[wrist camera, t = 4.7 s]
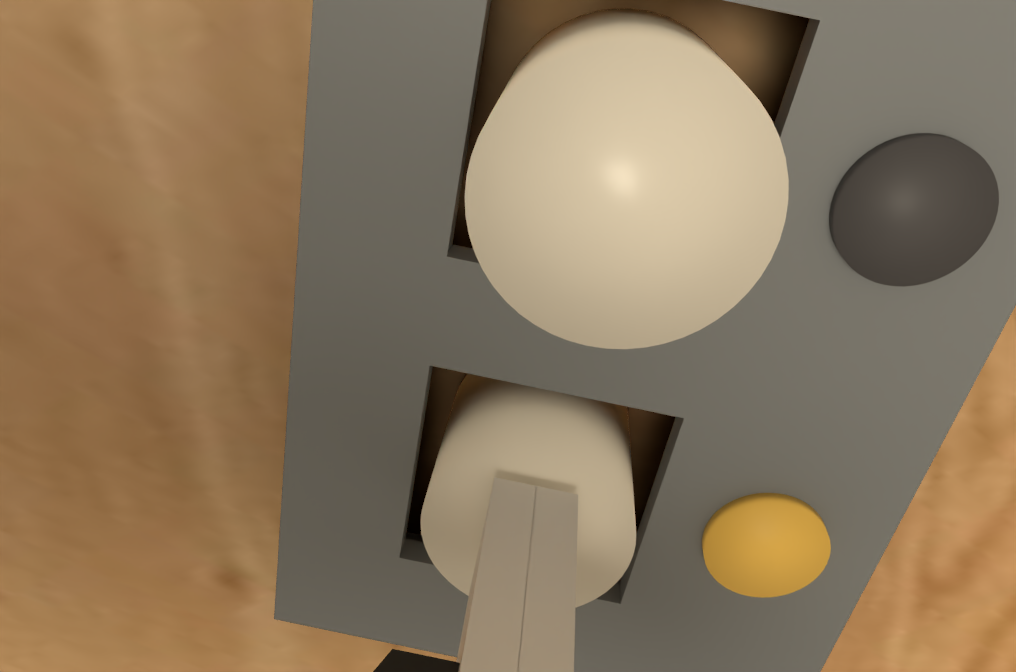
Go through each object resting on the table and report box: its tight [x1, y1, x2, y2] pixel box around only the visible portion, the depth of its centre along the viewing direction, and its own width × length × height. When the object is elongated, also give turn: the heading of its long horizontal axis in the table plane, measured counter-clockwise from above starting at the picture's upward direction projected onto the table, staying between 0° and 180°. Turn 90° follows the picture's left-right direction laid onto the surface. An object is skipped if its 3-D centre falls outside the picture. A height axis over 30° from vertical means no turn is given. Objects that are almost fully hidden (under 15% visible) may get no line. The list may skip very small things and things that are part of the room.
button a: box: [420, 374, 636, 608], centre depth 17 cm, size 4×4×4 cm
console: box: [274, 0, 1016, 672], centre depth 14 cm, size 12×24×3 cm, turn 169°
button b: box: [465, 9, 789, 349], centre depth 12 cm, size 4×4×4 cm
